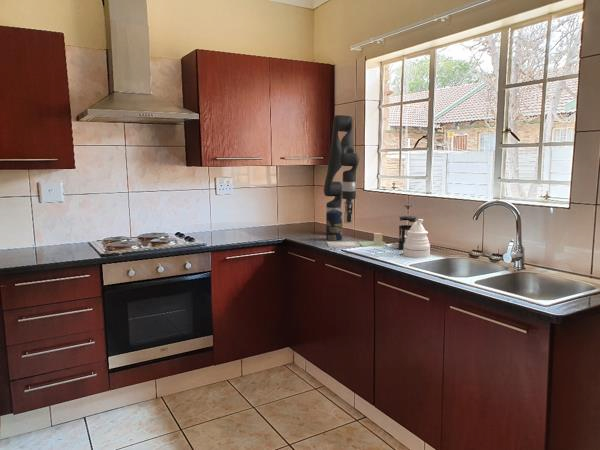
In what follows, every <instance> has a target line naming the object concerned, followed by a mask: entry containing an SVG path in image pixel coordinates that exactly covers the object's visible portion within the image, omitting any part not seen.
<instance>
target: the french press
mask: <svg viewBox="0 0 600 450" xmlns="http://www.w3.org/2000/svg"><path fill="white" fill-rule="evenodd" d="M404 207H405V208H406V209H407V210H410V208H411V207H413V206H412V205H404ZM398 218H399V222H401V221H407V222H406V224H404V225H403V224H402V225H399V226H398V229H399V230H398V231H399V232H398V233H399V234H398V246H397V249H398V250H401V251H403V248H404V243H405V240H406V237H407V235H408V233H407V231H409V230H410V228H411V226H412V225H413V224H412V225H411V224H410V225H409V223H415V222H417V221H416V219H417V217H416V216H411V215H403V216H399V217H398Z"/></svg>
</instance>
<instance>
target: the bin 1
mask: <svg viewBox="0 0 600 450" xmlns="http://www.w3.org/2000/svg"><path fill="white" fill-rule="evenodd" d="M326 244H327V246H328V247H329V248H333V247H334V248H335V247H337V248H338V247H339V248H340V247H345V248H347V247H349V248H350V247H352V248H353V247H361V245H360V244H359V243H358V242H357V241H326Z"/></svg>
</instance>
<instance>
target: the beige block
mask: <svg viewBox="0 0 600 450" xmlns="http://www.w3.org/2000/svg"><path fill="white" fill-rule="evenodd" d="M343 213H344V215H343V216H344V217H343V220H344V221H343V223H344V224H345V225H346V224H347V225H351V224H353V221H354V220H353V219H354V216H353V215H354V213H353V212H352V215H351V222H347V212H345V211H344V212H343Z"/></svg>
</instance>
